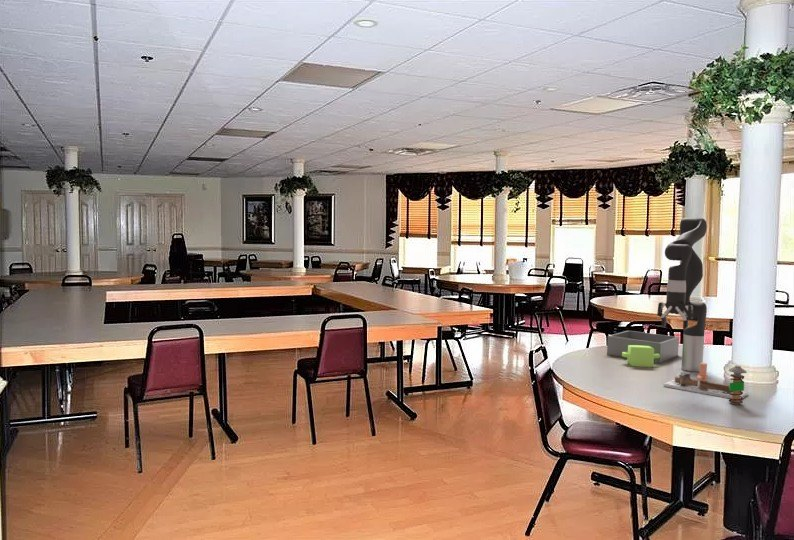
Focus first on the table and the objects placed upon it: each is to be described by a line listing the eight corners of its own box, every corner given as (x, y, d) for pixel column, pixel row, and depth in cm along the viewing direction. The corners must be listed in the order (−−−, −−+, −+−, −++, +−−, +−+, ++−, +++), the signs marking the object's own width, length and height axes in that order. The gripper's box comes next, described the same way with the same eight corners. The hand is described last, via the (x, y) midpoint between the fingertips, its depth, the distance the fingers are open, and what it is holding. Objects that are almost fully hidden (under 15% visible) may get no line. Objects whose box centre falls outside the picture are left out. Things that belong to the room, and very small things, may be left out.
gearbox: (656, 363, 323) (657, 345, 323) (662, 367, 314) (663, 348, 313) (620, 361, 325) (621, 343, 325) (625, 366, 315) (626, 347, 315)
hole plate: (673, 381, 284) (673, 378, 284) (747, 395, 264) (747, 391, 264) (663, 386, 275) (663, 383, 275) (740, 400, 255) (740, 397, 255)
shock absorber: (728, 400, 255) (730, 363, 254) (746, 403, 251) (748, 366, 250) (724, 403, 250) (727, 366, 249) (742, 407, 246) (745, 368, 245)
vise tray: (627, 347, 364) (628, 330, 364) (678, 355, 346) (679, 337, 345) (606, 354, 344) (607, 335, 343) (659, 362, 325) (660, 343, 324)
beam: (676, 380, 282) (677, 370, 282) (741, 391, 265) (742, 381, 264) (671, 383, 276) (671, 373, 276) (736, 395, 259) (737, 384, 259)
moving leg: (699, 383, 276) (701, 362, 275) (707, 384, 274) (708, 363, 273) (694, 386, 270) (695, 364, 269) (701, 387, 268) (703, 366, 267)
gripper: (696, 291, 272) (694, 328, 273) (662, 288, 282) (660, 324, 283) (690, 292, 266) (688, 330, 268) (656, 289, 276) (654, 326, 277)
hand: (674, 327), depth 275 cm, fingers open, 8 cm apart
